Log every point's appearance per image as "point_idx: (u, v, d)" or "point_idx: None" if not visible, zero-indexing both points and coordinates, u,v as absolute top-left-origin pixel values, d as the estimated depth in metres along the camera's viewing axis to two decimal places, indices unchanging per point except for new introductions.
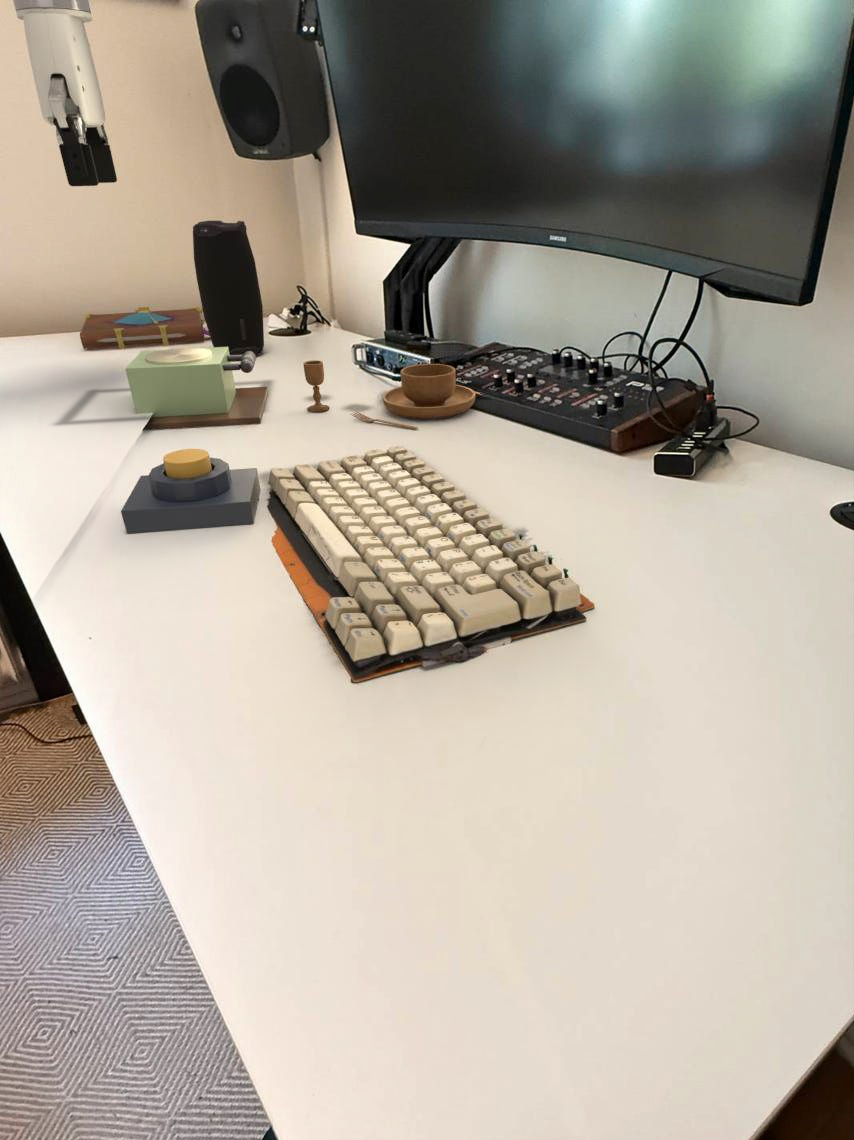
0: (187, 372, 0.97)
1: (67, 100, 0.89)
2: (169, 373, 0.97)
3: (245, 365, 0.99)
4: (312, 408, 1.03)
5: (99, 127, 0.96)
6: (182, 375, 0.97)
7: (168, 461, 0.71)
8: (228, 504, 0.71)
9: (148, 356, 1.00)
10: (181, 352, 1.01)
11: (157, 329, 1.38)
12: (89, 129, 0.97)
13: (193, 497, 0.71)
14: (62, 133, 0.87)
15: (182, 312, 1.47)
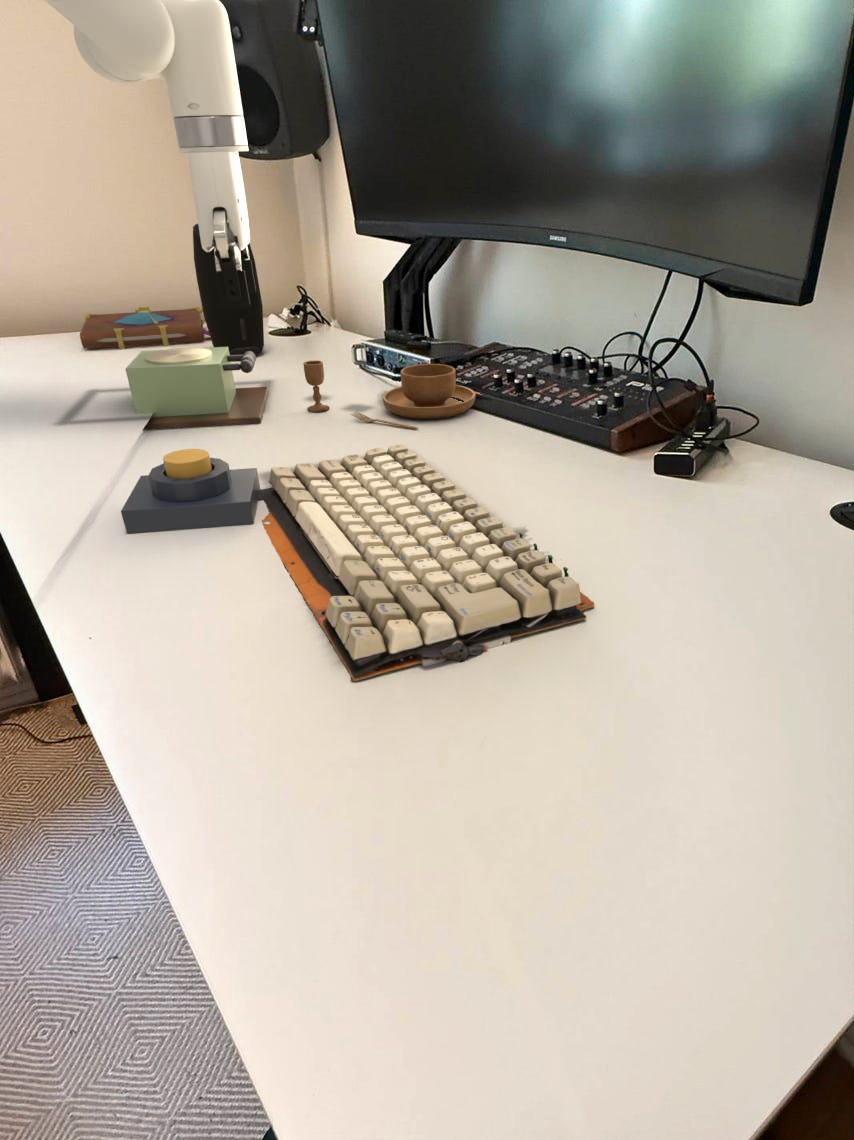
0: (187, 372, 0.97)
1: None
2: (169, 373, 0.97)
3: (245, 365, 0.99)
4: (312, 408, 1.03)
5: None
6: (182, 375, 0.97)
7: (168, 461, 0.71)
8: (228, 504, 0.71)
9: (148, 356, 1.00)
10: (181, 352, 1.01)
11: (157, 329, 1.38)
12: None
13: (193, 497, 0.71)
14: (222, 263, 0.90)
15: (182, 312, 1.47)
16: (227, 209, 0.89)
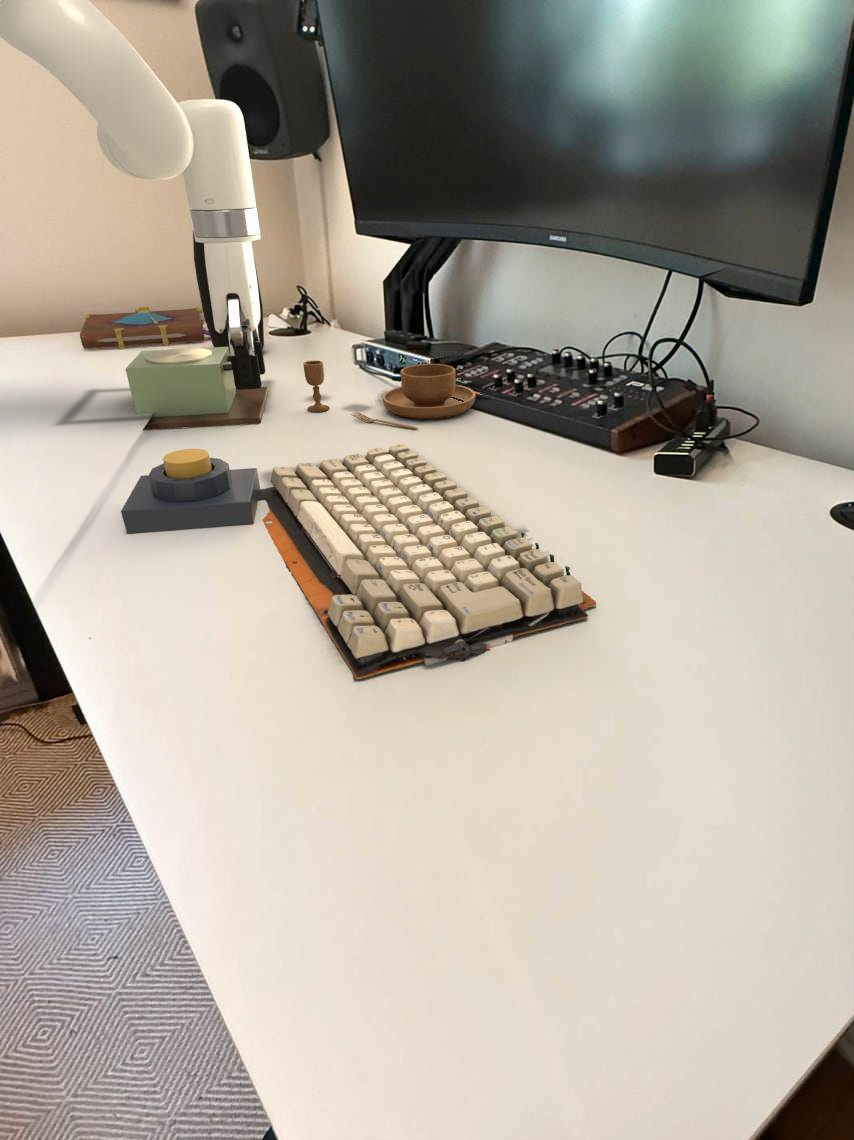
0: (187, 372, 0.97)
1: None
2: (169, 373, 0.97)
3: None
4: (312, 408, 1.03)
5: None
6: (182, 375, 0.97)
7: (168, 461, 0.71)
8: (228, 504, 0.71)
9: (148, 356, 1.00)
10: (181, 352, 1.01)
11: (157, 329, 1.38)
12: None
13: (193, 497, 0.71)
14: (236, 350, 0.96)
15: (182, 312, 1.47)
16: (240, 295, 0.93)
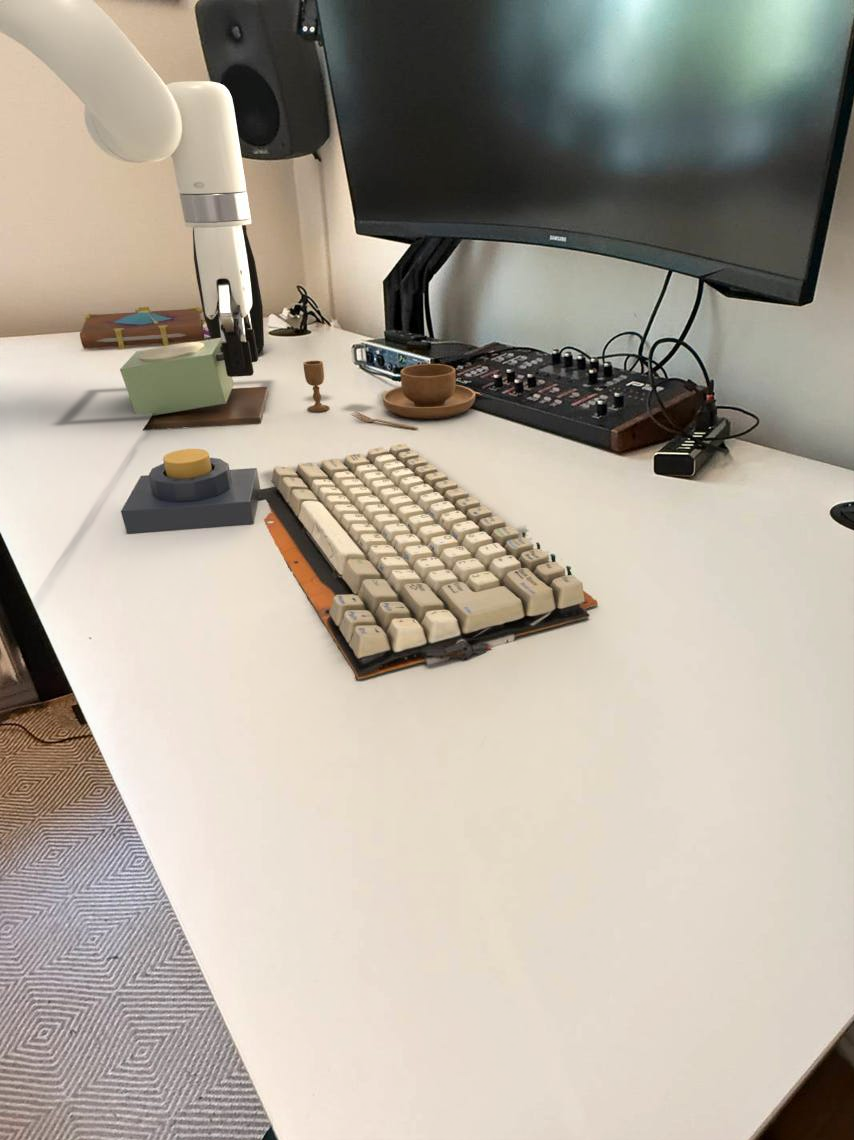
0: (181, 366, 0.96)
1: None
2: (163, 369, 0.96)
3: None
4: (312, 408, 1.03)
5: None
6: (176, 370, 0.97)
7: (168, 461, 0.71)
8: (228, 504, 0.71)
9: (142, 355, 0.99)
10: (174, 347, 1.01)
11: (157, 329, 1.38)
12: None
13: (193, 497, 0.71)
14: (227, 336, 0.95)
15: (182, 312, 1.47)
16: (230, 280, 0.92)
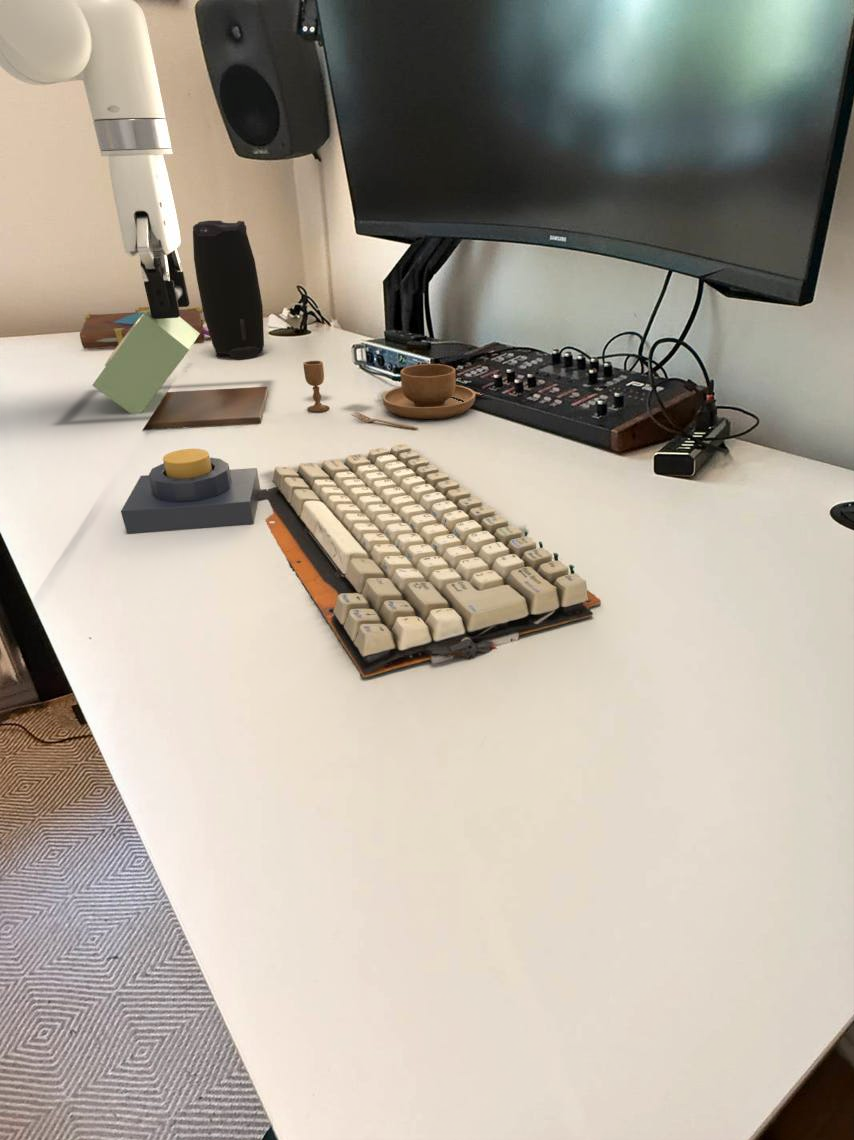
0: (131, 344, 0.94)
1: None
2: (121, 358, 0.95)
3: None
4: (312, 408, 1.03)
5: (174, 249, 0.98)
6: (130, 351, 0.95)
7: (168, 461, 0.71)
8: (228, 504, 0.71)
9: None
10: None
11: None
12: None
13: (193, 497, 0.71)
14: (148, 273, 0.90)
15: (182, 312, 1.47)
16: (149, 213, 0.88)
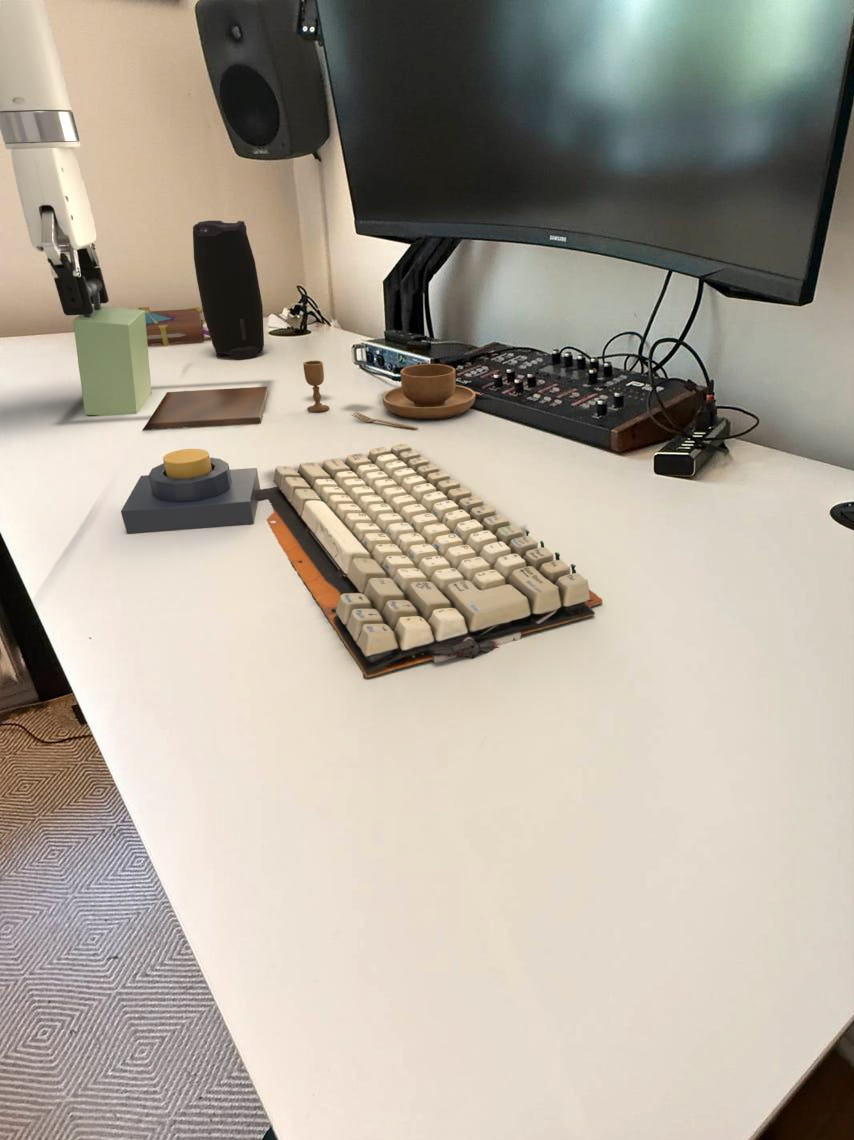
0: (84, 355, 0.94)
1: (57, 226, 0.89)
2: (87, 373, 0.95)
3: None
4: (312, 408, 1.03)
5: None
6: (88, 361, 0.94)
7: (168, 461, 0.71)
8: (228, 504, 0.71)
9: None
10: None
11: (157, 329, 1.38)
12: (80, 252, 0.97)
13: (193, 497, 0.71)
14: (56, 269, 0.89)
15: (182, 312, 1.47)
16: (54, 207, 0.86)
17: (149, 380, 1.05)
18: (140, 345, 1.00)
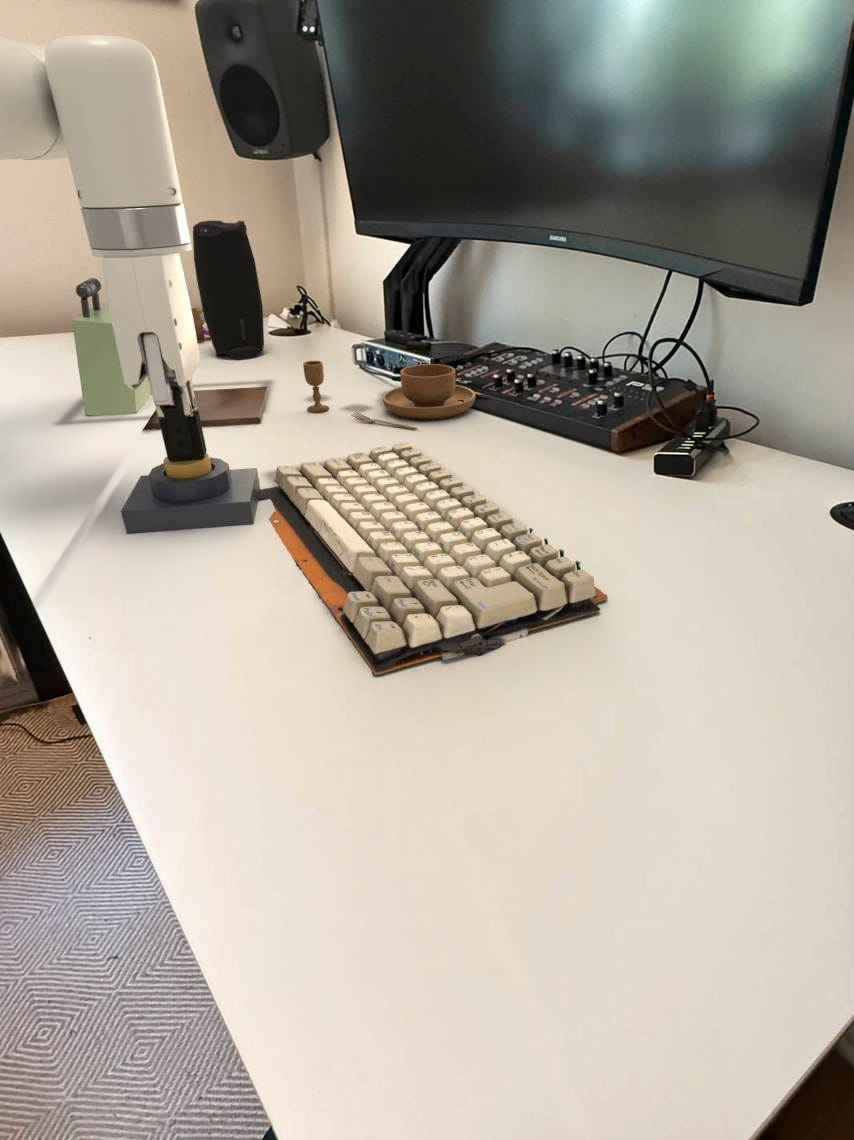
0: (84, 356, 0.94)
1: None
2: (86, 374, 0.95)
3: (79, 292, 0.92)
4: (312, 408, 1.03)
5: None
6: (87, 361, 0.94)
7: (168, 463, 0.71)
8: (228, 504, 0.71)
9: None
10: None
11: None
12: None
13: (193, 497, 0.71)
14: (165, 410, 0.68)
15: None
16: (159, 335, 0.62)
17: None
18: None
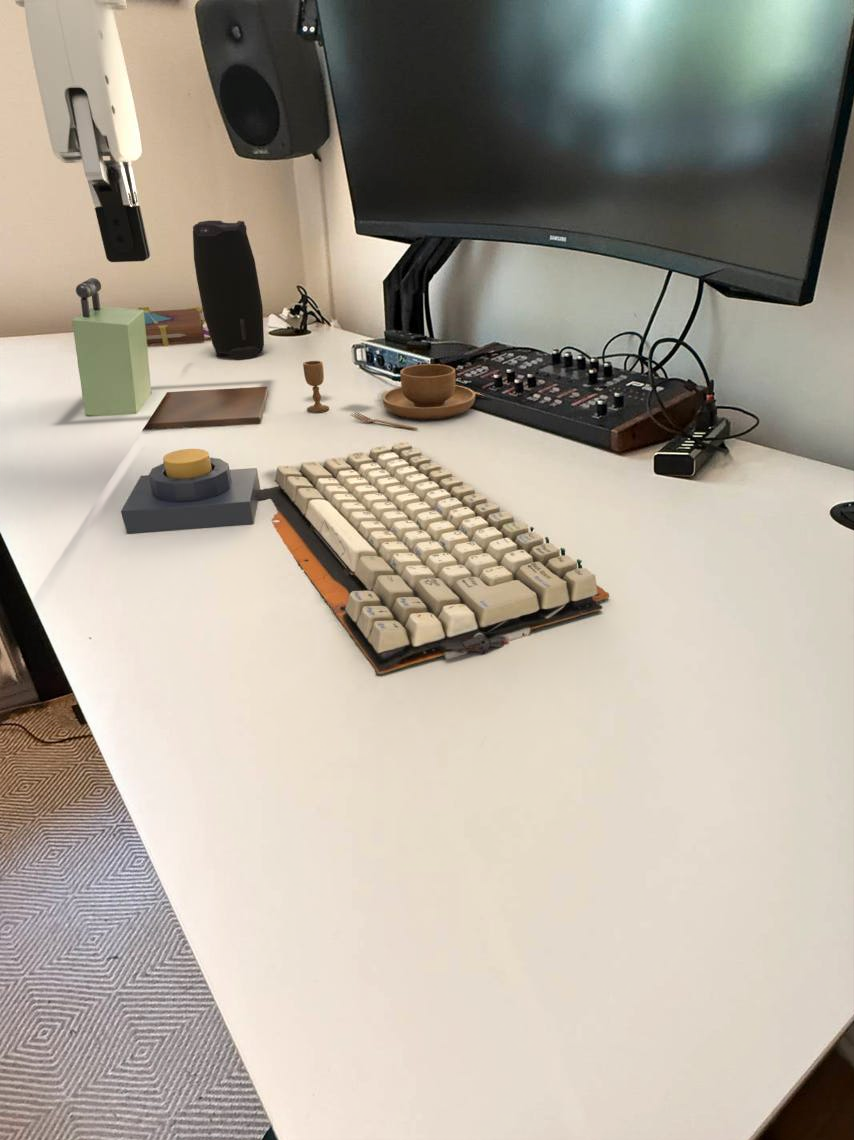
0: (84, 356, 0.94)
1: None
2: (86, 374, 0.95)
3: (79, 292, 0.92)
4: (312, 408, 1.03)
5: None
6: (87, 361, 0.94)
7: (168, 461, 0.71)
8: (228, 504, 0.71)
9: None
10: None
11: (157, 329, 1.38)
12: None
13: (193, 497, 0.71)
14: (100, 193, 0.63)
15: (182, 312, 1.47)
16: (88, 91, 0.57)
17: (149, 380, 1.05)
18: (139, 345, 1.00)
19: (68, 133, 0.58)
